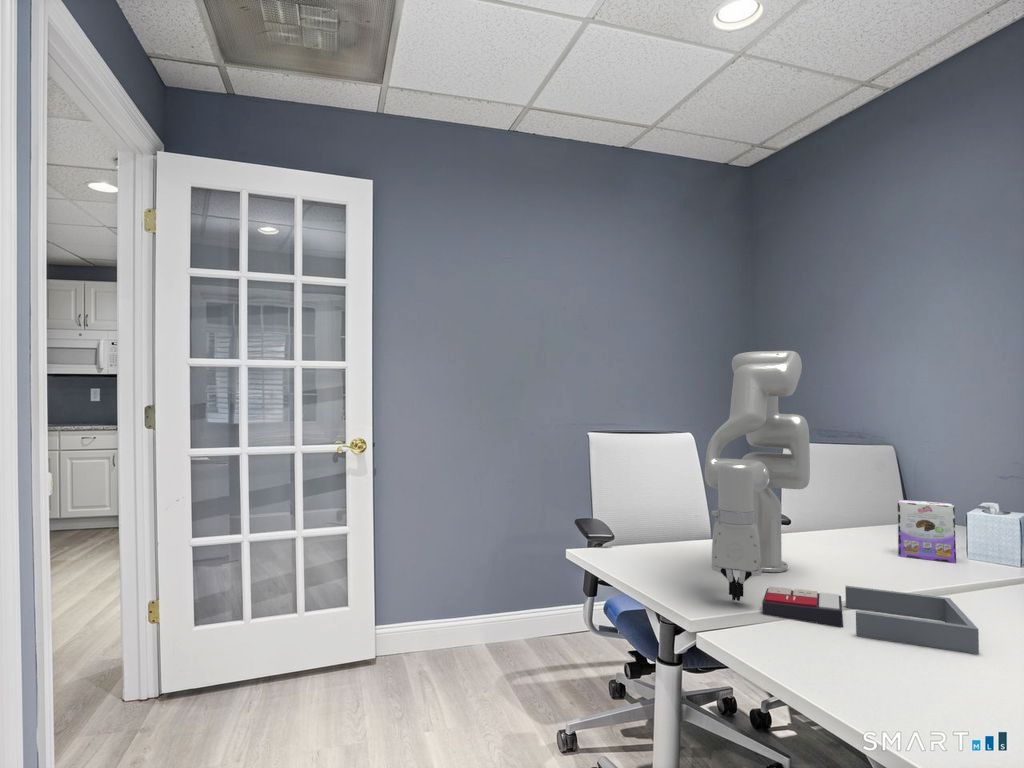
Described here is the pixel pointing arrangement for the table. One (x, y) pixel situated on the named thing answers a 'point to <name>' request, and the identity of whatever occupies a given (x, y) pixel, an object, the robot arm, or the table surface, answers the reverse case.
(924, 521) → the candy box
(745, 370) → the robot arm
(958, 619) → the box
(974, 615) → the table surface
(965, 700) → the table surface
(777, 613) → the dark long red-fronted box
